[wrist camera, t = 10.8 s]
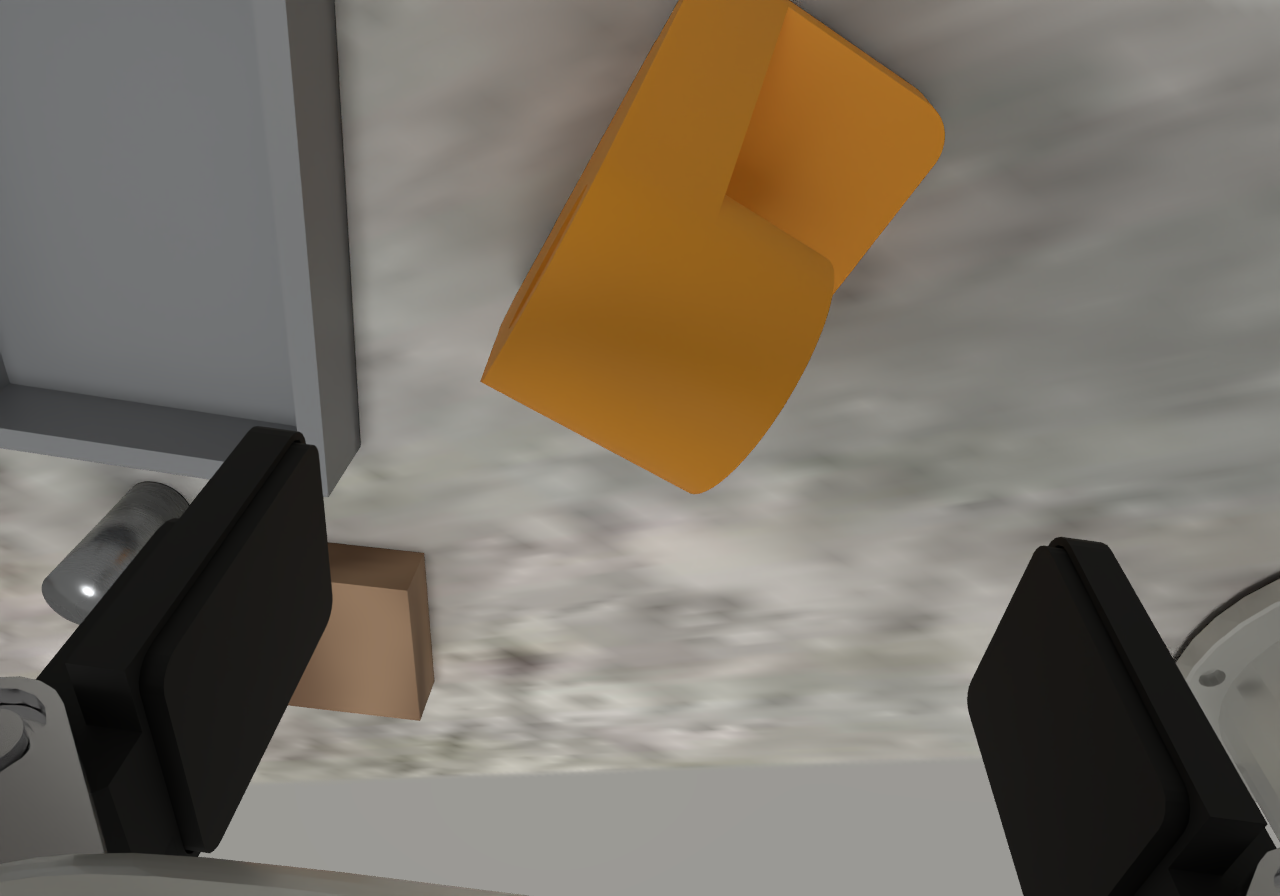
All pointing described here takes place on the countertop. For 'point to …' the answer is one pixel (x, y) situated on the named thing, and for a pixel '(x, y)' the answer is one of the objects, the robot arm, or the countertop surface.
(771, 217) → the bracket
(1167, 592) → the countertop surface
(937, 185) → the countertop surface
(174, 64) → the tray
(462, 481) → the countertop surface
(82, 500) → the countertop surface
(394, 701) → the tan slab
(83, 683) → the robot arm
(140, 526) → the peg
